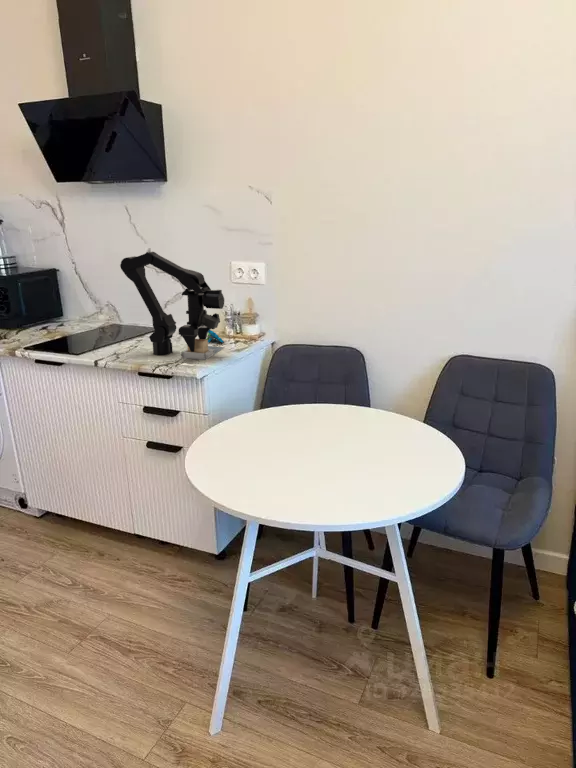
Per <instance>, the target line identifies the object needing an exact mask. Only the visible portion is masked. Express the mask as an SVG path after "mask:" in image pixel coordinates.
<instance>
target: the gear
mask: <svg viewBox="0 0 576 768" xmlns="http://www.w3.org/2000/svg"><path fill="white" fill-rule="evenodd" d="M214 339H215V340H216V341H219V343H220V342H221V343H222V344H223V343H224V342H225V341H224V339H223V338H221V337H219V335H218V334H217V332H214V331H213V330H212V329H210V330H209V331H208V333H207V337H206V340H208V344H209V343H210V342H211V341H212V340H214Z"/></svg>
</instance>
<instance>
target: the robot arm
mask: <svg viewBox="0 0 576 768" xmlns="http://www.w3.org/2000/svg"><path fill="white" fill-rule="evenodd" d="M148 265H151V266H153V267H155V268H157V269H158V270H160V271H162V272H164V273H166V274H167V275H170V276H171V277H173V278H175V279H176V280H178V281H179V283H180V284H181V285H182V286H183V287H185V289H184V290H183V292H182V293H181V296H186V297H187V310H186V311H185V314H187V315H188V321H186V324H184V325H182V326H180V327H179V328H178V335H180V337H182V338H183V340H184V342H185V343H186V345H188V346H187V348H188V347H189V349H190V350H191V352H194V349H195V339H197V337H198V339H207V336H208V331H209V330H215V329H217V328H218V326H219V323H220V322H221V318H220V314H218V313H213V314H208V311H207V310H206V309H214V310H215V309H216V310H218V309H219V310H222V309H223V308H224V306H225V296H224V293H222V291H223V290H222V289H212V288H210V286H209V285H208V283H207V282H206V280H205V277H204V275H203V274H202V273H201V272H198V271H197V270H196V271H195V270H192V269H188V268H184V267H182V266H180V265H179V264H176V263H174V262H173V261H171V260H169V259H167V258H165V257H163V256H161V255H159V254H158V253H157V252H155V251H149V252H145V253H144V254H141V255H138V256H135V255H134V256H129V257H125V258H123V259H121V261H120V264H119V266H120V270H121V271H122V273H124V275H125V277H127V278H128V279H129V280H130V281H131V282H132V283H133V284H134V286H135V287H136V289H137V292H138V294H139V295H140V296H141V299H142V301H143V303H144V304H145V307H146V308H147V311H148V312H149V314H150V316H151V318H152V319H151V320H152V327H153V330H154V331H153V332H152V333H151V334H150V335H149V337H148V338H149V340H150V342H151V343H152V351H153V352H152V353H153V355H155V356H158V357H159V356H167V355H171V354H172V353H173V350H174V349H173V343H172V338H173V337H174V336H173V335H174V334H175V333H176V331H177V325H176V324H177V322H176V321H175V319H174V316H173V314H171V313H169V314H167V313H166V312H165V311H164V310H163V308H162V306H161V304H160V302H159V300H158V298H157V297H156V294H155V292H154V290H153V289H152V286H151V284H150V283H149V281H148V280H147V278H146V276H147V275H146V268H145V267H146V266H148ZM204 307H205V308H206V309H204Z"/></svg>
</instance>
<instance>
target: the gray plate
mask: <svg viewBox="0 0 576 768" xmlns="http://www.w3.org/2000/svg"><path fill="white" fill-rule="evenodd" d="M225 348H226V347H225V346H224V347H223V346H215V345H214V346H213V345H212V346H210V345H208V352H206V353H196V352H188V348H186V349H184V350H183V351H181V353H180V354H181V357H180V359H186V360H198V361H199V360H200V361H206V360H208V359H209V358H212V356H214V355H216V354H217V353H219V352H221V351H222V350H223V349H225Z"/></svg>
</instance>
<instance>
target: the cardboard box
mask: <svg viewBox="0 0 576 768" xmlns="http://www.w3.org/2000/svg"><path fill="white" fill-rule="evenodd" d="M206 339H207V338H206ZM206 339H199V338H195V349H194V352H196V353H206V352H208V346H209V343H208V340H209V339H208V340H206ZM186 345H187V344H186ZM187 349H188V352H191V350H190V349H189V347H188V345H187Z"/></svg>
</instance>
